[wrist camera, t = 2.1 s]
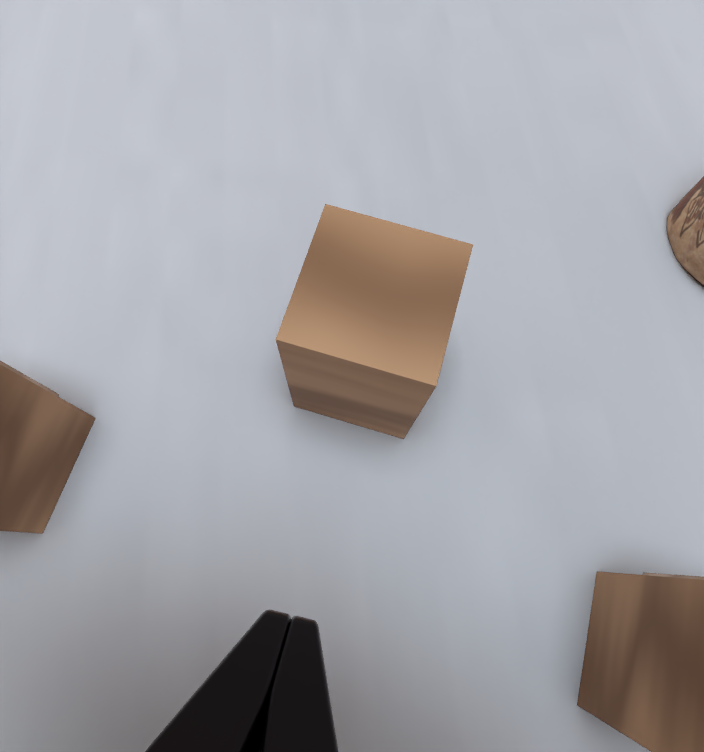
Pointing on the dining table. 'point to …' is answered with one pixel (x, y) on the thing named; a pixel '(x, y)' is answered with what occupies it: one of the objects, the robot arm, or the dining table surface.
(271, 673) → the robot arm
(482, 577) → the dining table surface
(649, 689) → the tile block
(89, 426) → the tile block
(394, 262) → the plain block
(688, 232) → the figurine
